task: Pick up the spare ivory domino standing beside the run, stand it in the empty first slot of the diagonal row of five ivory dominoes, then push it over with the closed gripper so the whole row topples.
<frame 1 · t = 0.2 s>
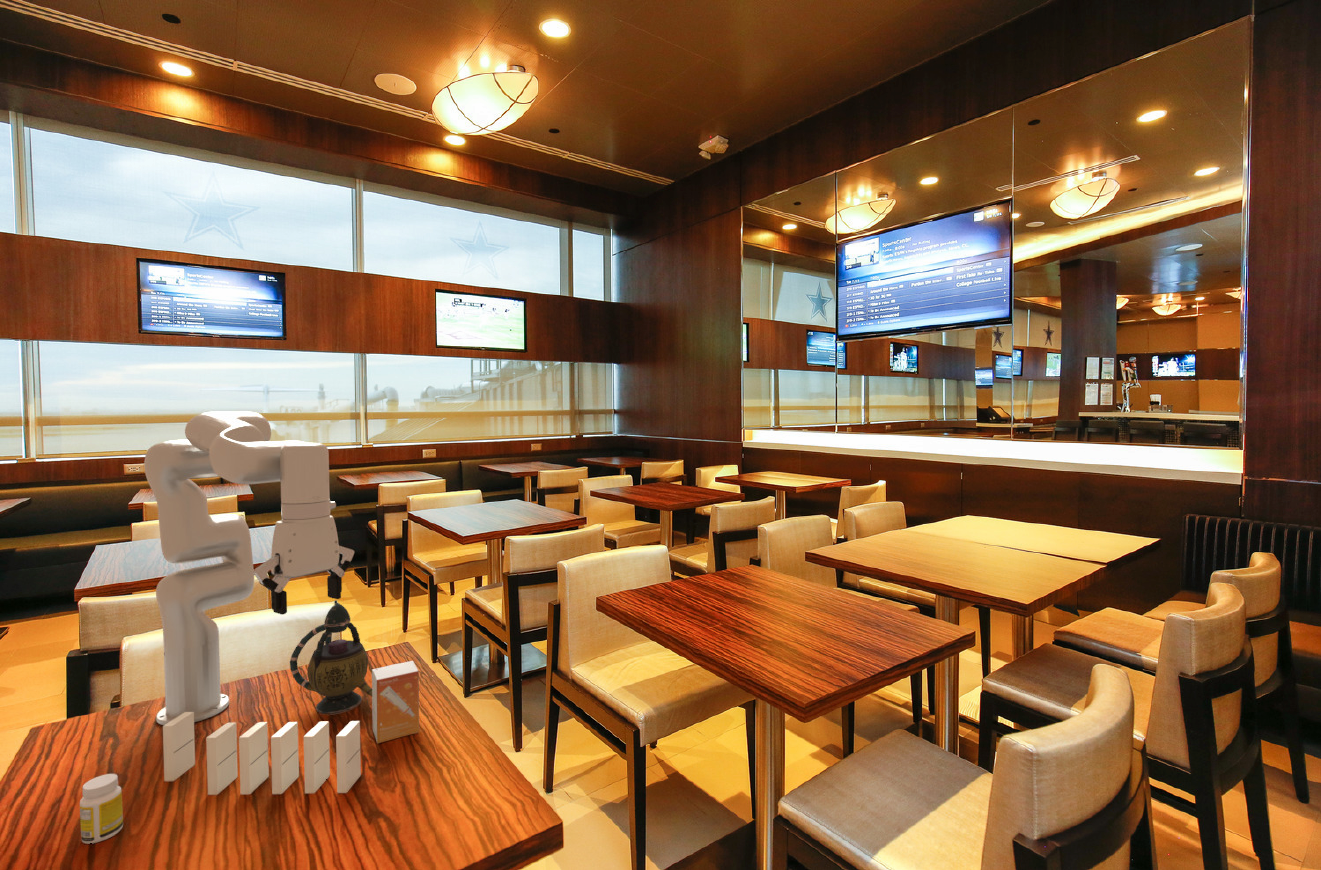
hand: (308, 605, 107), 31 cm above the table, tool pointing down, fingers open, 9 cm apart
domino 2: (223, 785, 104), on the table
domino 5: (317, 784, 104), on the table
domino 3: (254, 785, 104), on the table
supplement bottle: (102, 835, 92), on the table
domino 1: (180, 772, 108), on the table
teapot: (351, 708, 132), on the table
small box: (396, 732, 122), on the table
domino 6: (349, 783, 105), on the table
domino 4: (286, 784, 104), on the table
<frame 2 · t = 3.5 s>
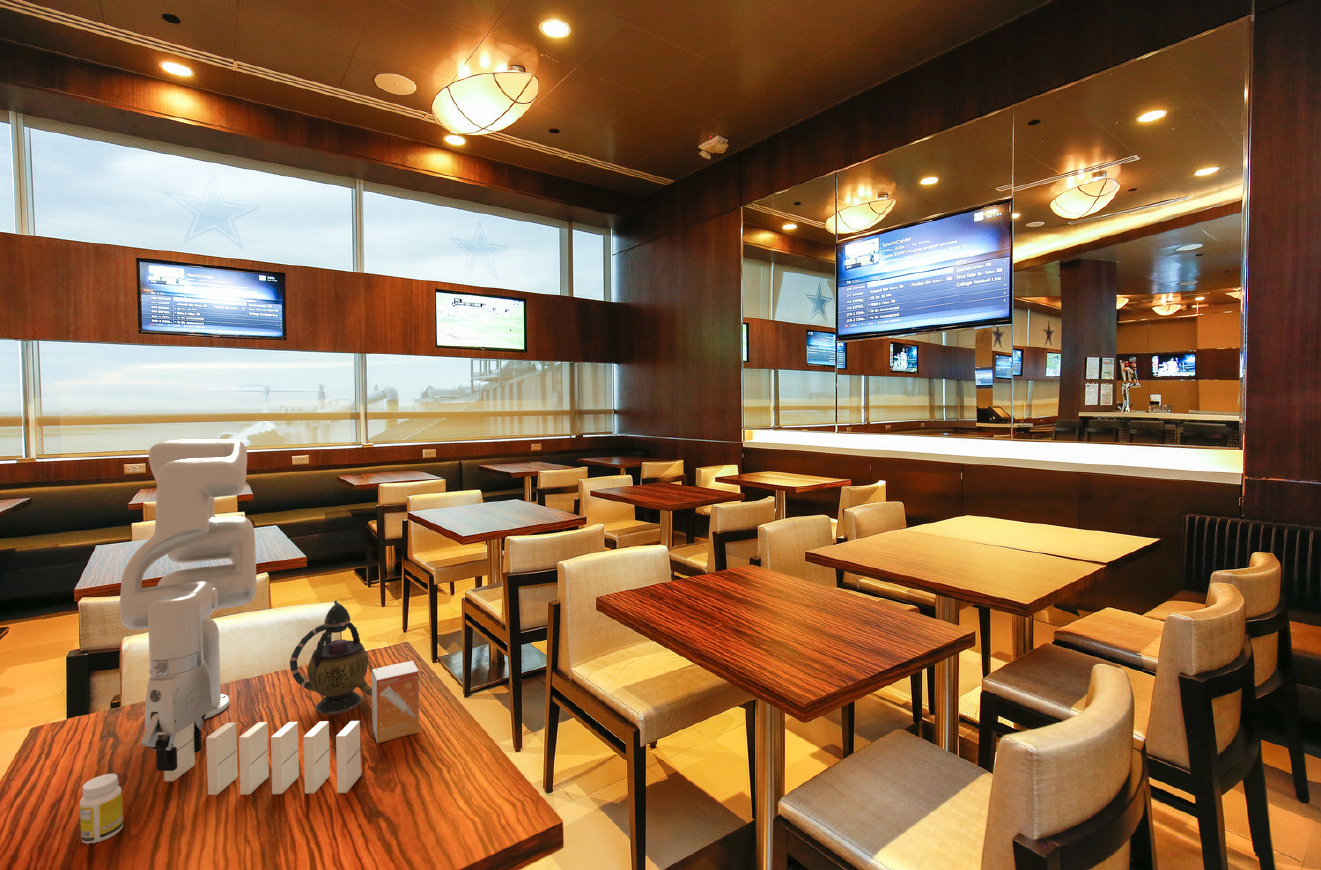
hand: (179, 759, 108), 2 cm above the table, tool pointing down, fingers closed on domino 1, 4 cm apart
domino 1: (180, 772, 108), on the table, touching gripper
everything else where it was.
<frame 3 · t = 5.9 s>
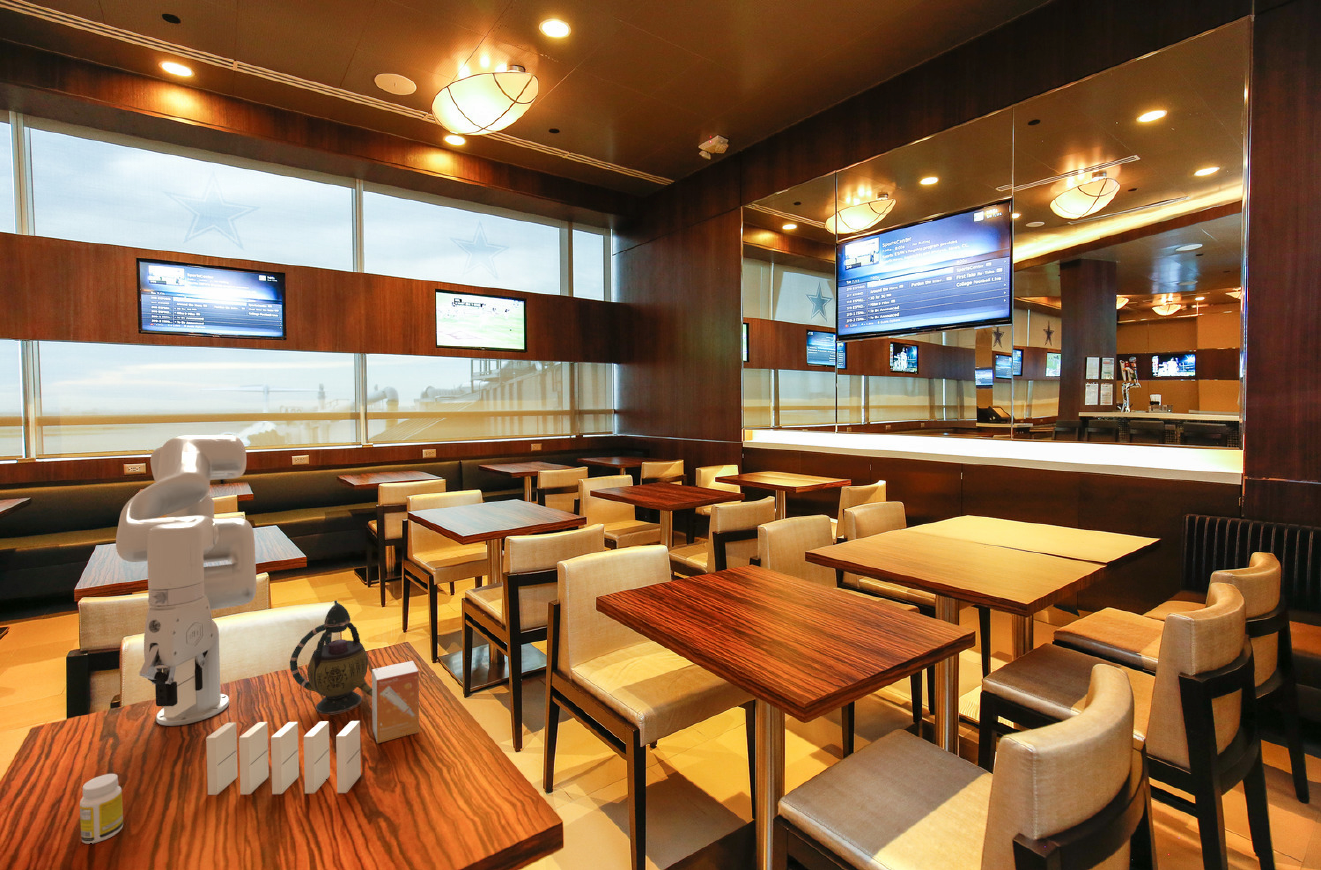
hand: (180, 696, 103), 16 cm above the table, tool pointing down, fingers closed on domino 1, 4 cm apart
domino 1: (180, 710, 103), point 14 cm above the table, touching gripper
everything else where it was.
when the fingers open (3 cm above the table, at t = 8.5 s): domino 1 stays where it is, on the table.
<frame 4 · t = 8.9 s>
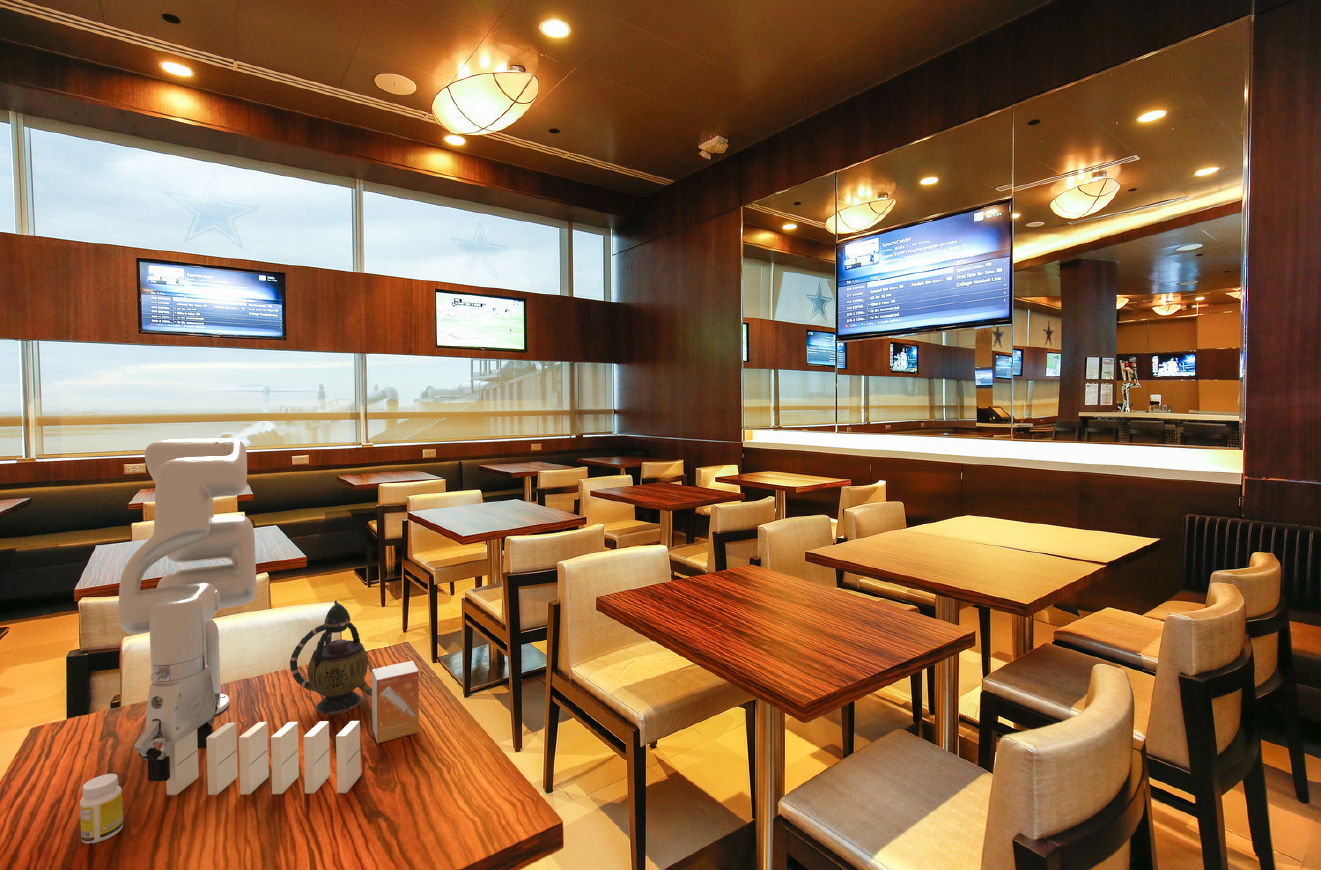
hand: (182, 763, 104), 4 cm above the table, tool pointing down, fingers open, 9 cm apart
domino 1: (183, 785, 104), on the table
everything else where it was.
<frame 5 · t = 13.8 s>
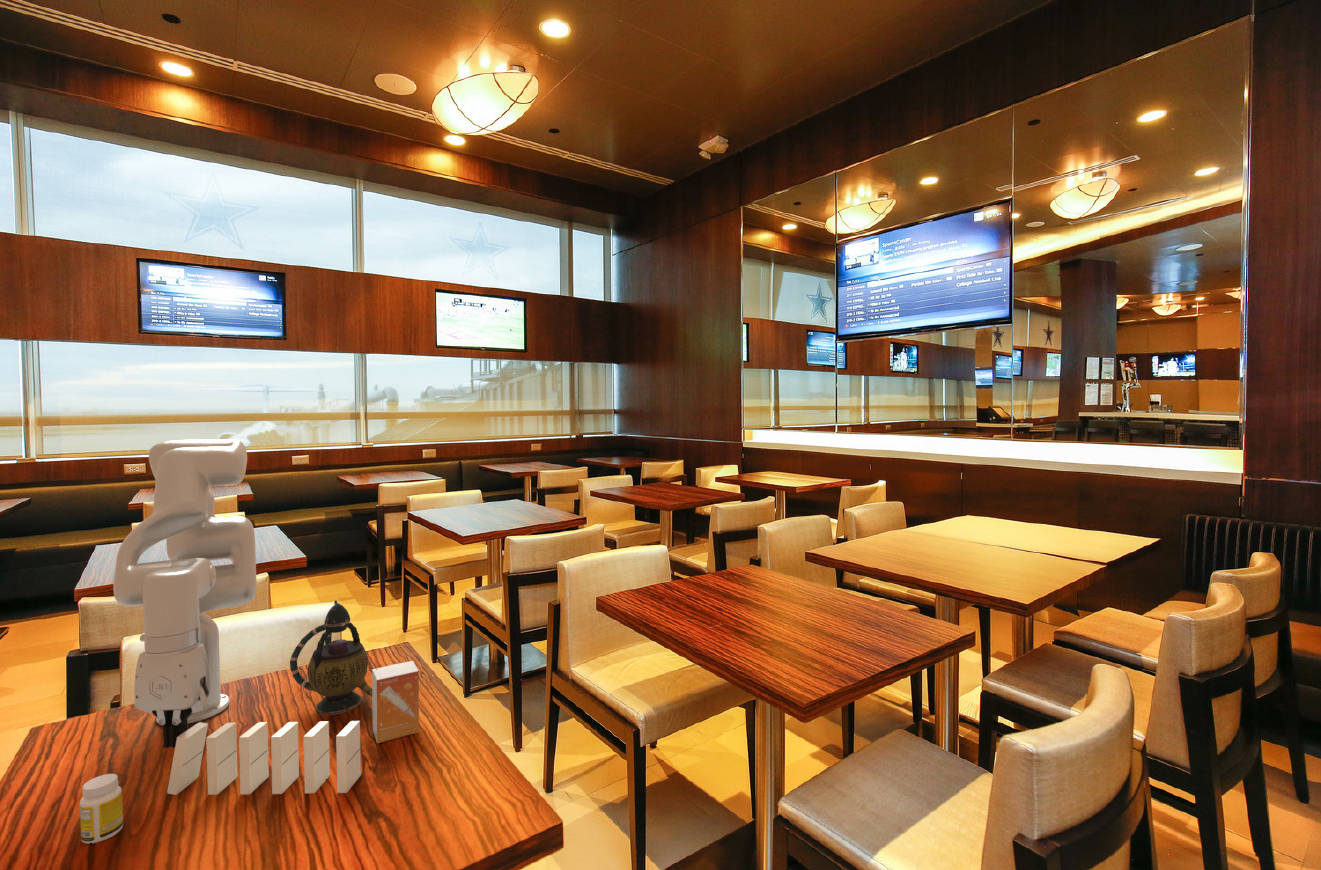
hand: (175, 743, 104), 8 cm above the table, tool pointing down, fingers closed
domino 1: (183, 785, 104), on the table, tilted 12°
everything else where it was.
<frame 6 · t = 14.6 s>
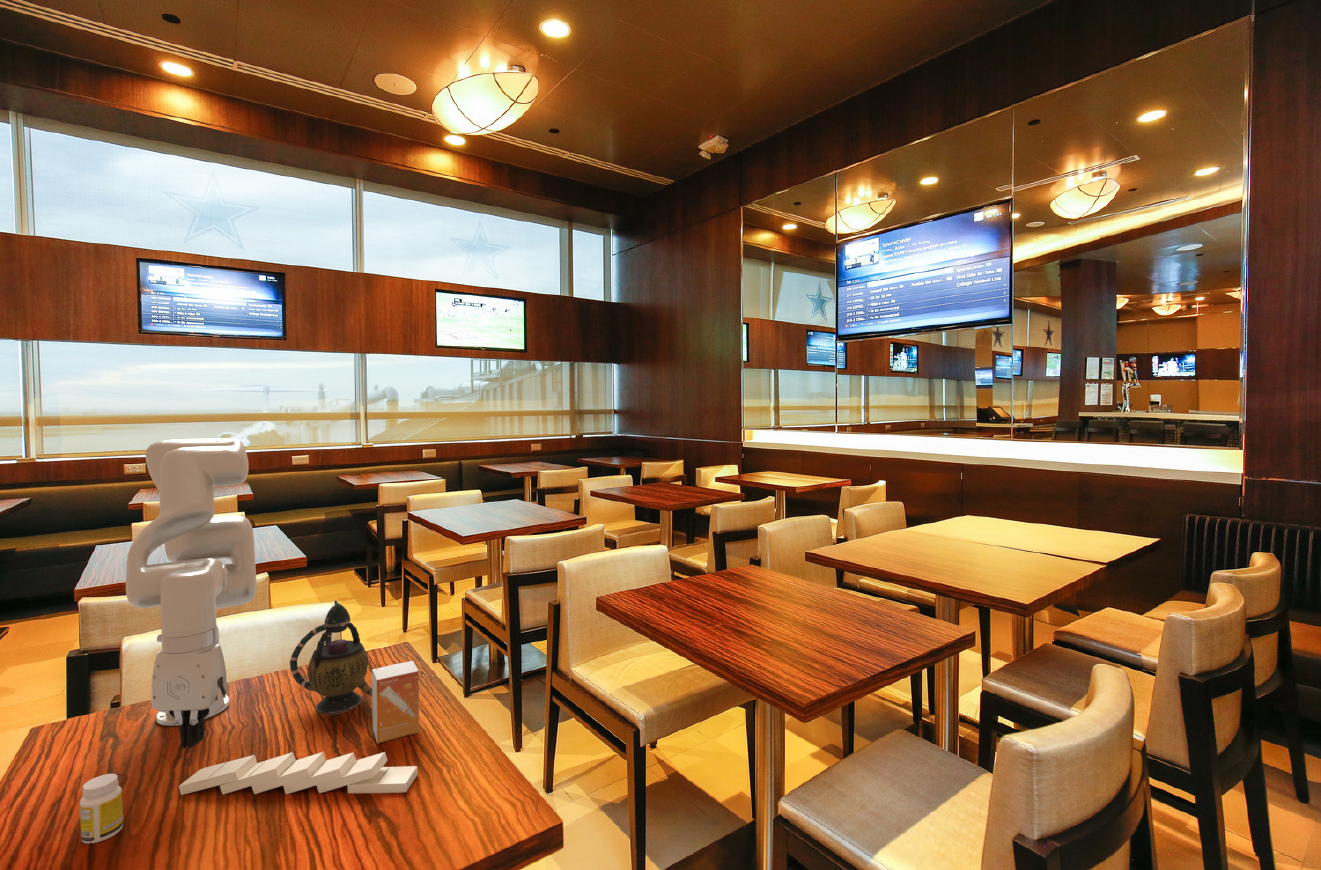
hand: (192, 743, 104), 8 cm above the table, tool pointing down, fingers closed
domino 2: (231, 781, 104), point 1 cm above the table, tilted 73°, touching domino 1, domino 3
domino 5: (325, 780, 104), point 1 cm above the table, tilted 74°, touching domino 4, domino 6
domino 3: (262, 781, 104), point 1 cm above the table, tilted 73°, touching domino 2, domino 4
domino 1: (191, 781, 104), point 1 cm above the table, tilted 76°, touching domino 2
domino 6: (355, 780, 105), point 1 cm above the table, tilted 89°, touching domino 5
domino 4: (293, 781, 104), point 1 cm above the table, tilted 73°, touching domino 3, domino 5
everything else where it was.
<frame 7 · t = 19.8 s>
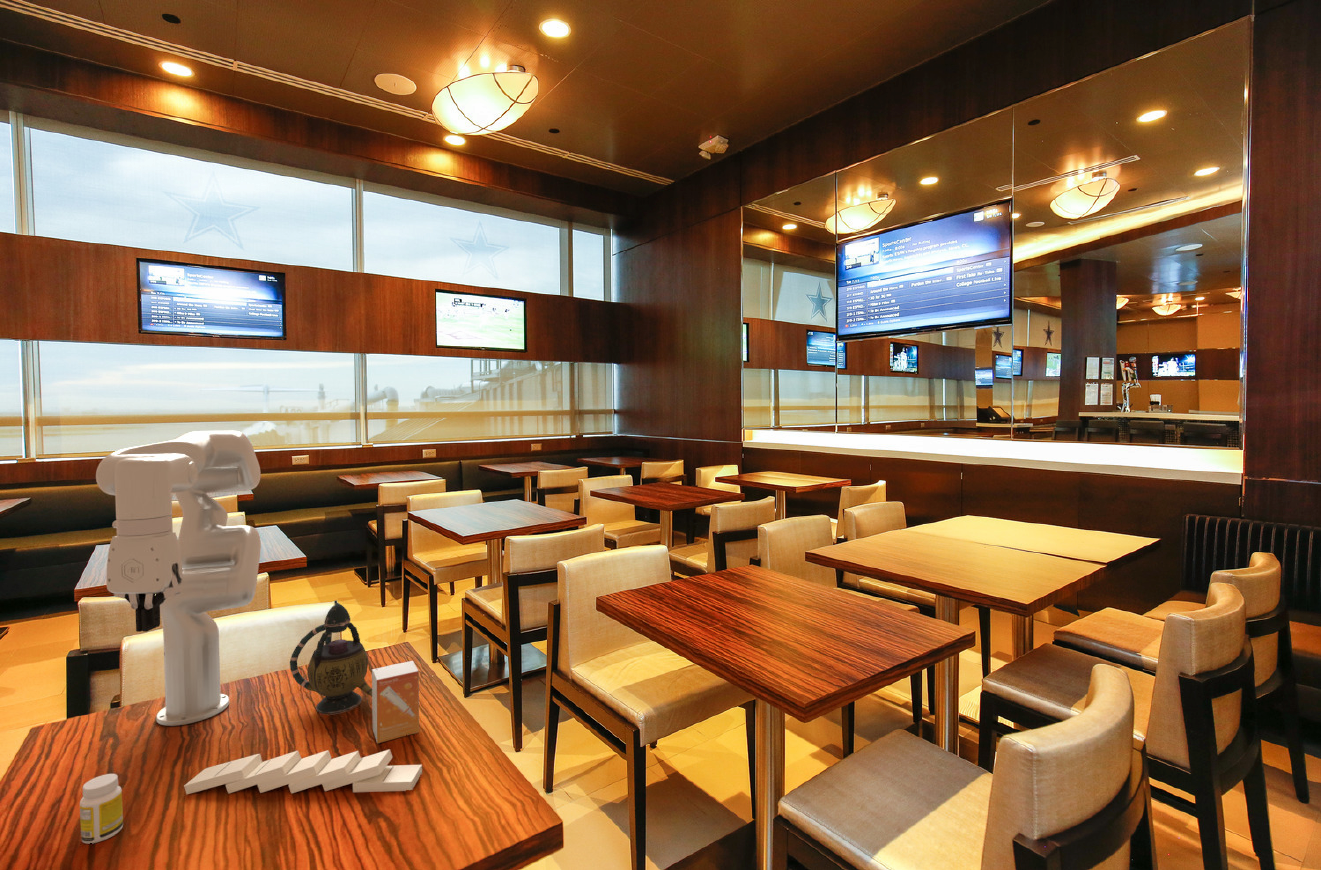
hand: (148, 628, 106), 27 cm above the table, tool pointing down, fingers closed
at the end: domino 6 tilted 90°; domino 1 tilted 75°; domino 1 inside the target area (0.1 cm from its centre), point 0.7 cm above the table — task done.
